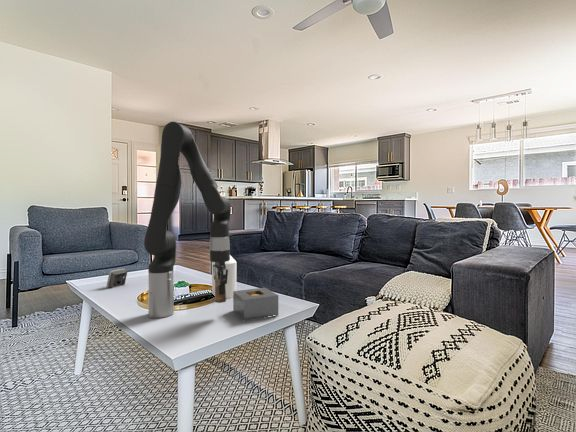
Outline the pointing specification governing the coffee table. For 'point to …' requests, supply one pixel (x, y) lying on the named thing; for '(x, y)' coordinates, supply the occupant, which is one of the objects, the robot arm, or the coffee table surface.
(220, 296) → the brown wooden block
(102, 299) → the coffee table surface
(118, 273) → the electrical switch
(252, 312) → the box
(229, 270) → the bottle
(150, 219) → the robot arm
